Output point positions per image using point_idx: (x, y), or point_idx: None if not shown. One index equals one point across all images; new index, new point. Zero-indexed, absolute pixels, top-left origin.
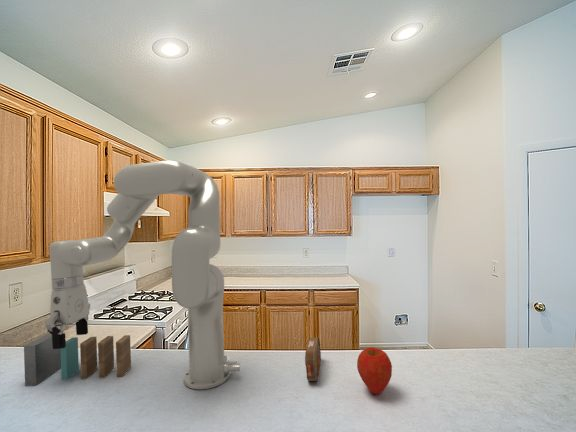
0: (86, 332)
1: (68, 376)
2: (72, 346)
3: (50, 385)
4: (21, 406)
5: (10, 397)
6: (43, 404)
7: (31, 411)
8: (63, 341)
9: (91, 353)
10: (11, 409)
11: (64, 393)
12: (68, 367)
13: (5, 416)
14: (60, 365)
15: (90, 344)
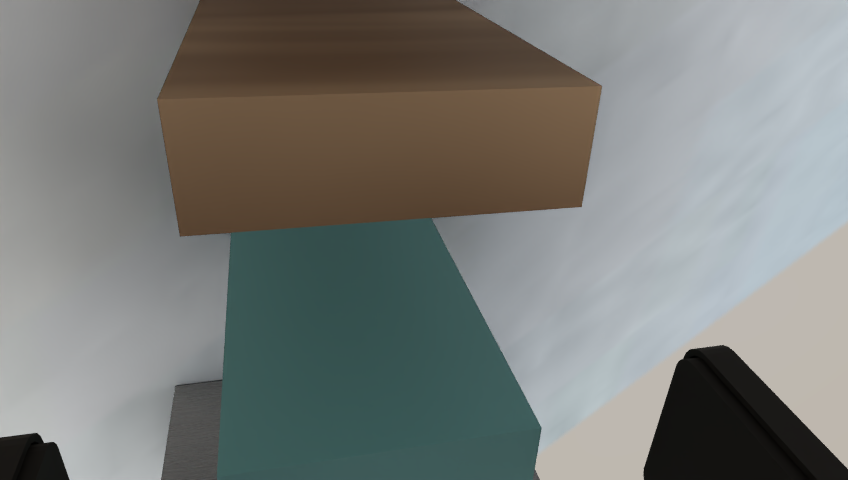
0: (25, 465)
1: None
2: (368, 376)
3: (492, 249)
4: (736, 233)
5: (599, 383)
6: (768, 96)
7: (828, 118)
8: (802, 432)
9: (357, 24)
10: (749, 267)
11: (656, 32)
12: (412, 230)
13: (816, 241)
14: (196, 403)
15: (410, 67)
